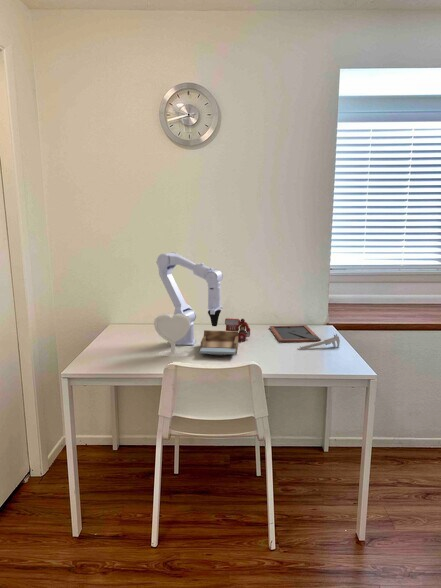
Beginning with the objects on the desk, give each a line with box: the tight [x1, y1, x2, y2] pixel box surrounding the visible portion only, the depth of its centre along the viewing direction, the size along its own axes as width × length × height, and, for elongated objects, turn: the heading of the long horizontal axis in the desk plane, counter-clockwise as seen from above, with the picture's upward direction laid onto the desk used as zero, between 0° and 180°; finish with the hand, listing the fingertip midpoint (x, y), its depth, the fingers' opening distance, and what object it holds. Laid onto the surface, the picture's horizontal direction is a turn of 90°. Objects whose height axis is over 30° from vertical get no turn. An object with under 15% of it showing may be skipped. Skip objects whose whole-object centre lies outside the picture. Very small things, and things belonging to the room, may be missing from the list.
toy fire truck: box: [224, 318, 251, 342], centre depth 203 cm, size 7×12×10 cm, turn 82°
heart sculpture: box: [153, 312, 191, 357], centre depth 182 cm, size 16×5×18 cm, turn 83°
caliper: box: [297, 333, 341, 351], centre depth 190 cm, size 20×1×6 cm, turn 102°
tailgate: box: [199, 347, 236, 356], centre depth 180 cm, size 15×2×6 cm
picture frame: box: [269, 324, 322, 344], centre depth 211 cm, size 20×2×25 cm
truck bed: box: [200, 329, 239, 355], centre depth 189 cm, size 16×12×7 cm
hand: (214, 325), depth 190 cm, fingers closed
